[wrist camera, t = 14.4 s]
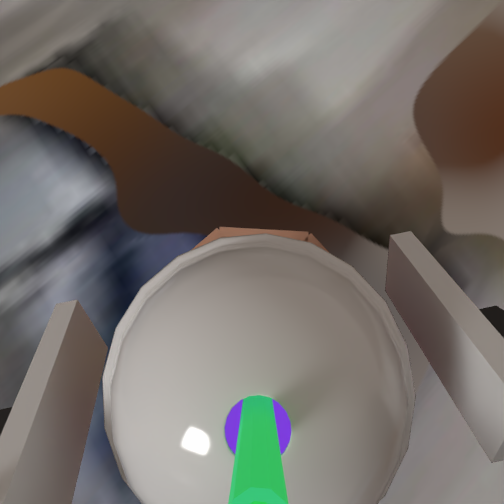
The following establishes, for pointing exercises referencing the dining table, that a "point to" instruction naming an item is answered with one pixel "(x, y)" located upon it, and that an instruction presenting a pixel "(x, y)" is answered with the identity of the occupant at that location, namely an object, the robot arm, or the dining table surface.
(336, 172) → the dining table surface
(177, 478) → the smoothie
